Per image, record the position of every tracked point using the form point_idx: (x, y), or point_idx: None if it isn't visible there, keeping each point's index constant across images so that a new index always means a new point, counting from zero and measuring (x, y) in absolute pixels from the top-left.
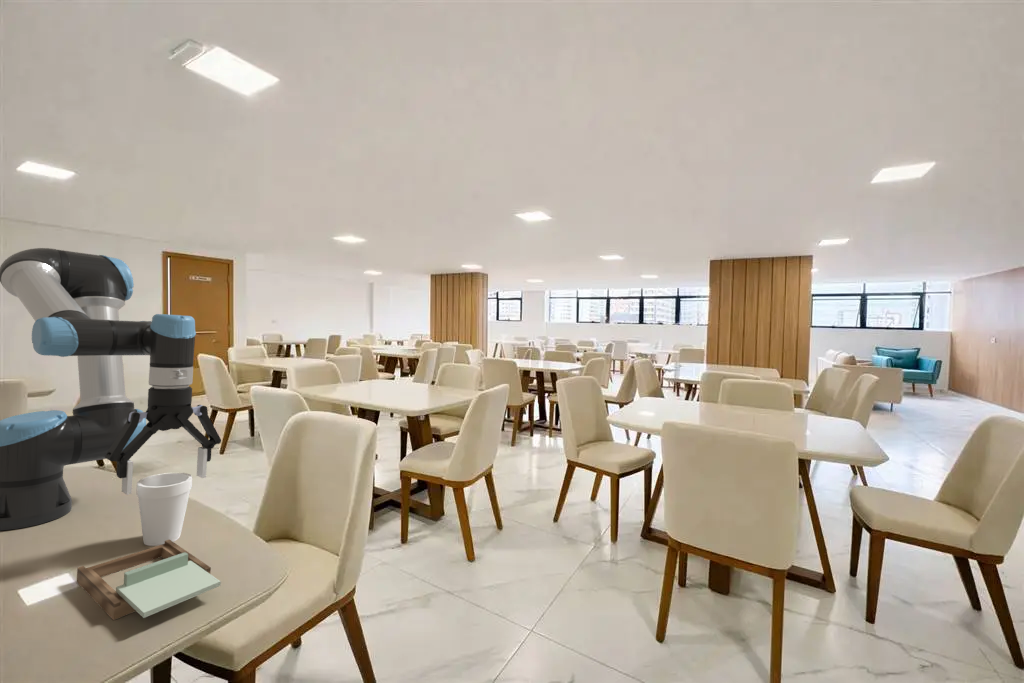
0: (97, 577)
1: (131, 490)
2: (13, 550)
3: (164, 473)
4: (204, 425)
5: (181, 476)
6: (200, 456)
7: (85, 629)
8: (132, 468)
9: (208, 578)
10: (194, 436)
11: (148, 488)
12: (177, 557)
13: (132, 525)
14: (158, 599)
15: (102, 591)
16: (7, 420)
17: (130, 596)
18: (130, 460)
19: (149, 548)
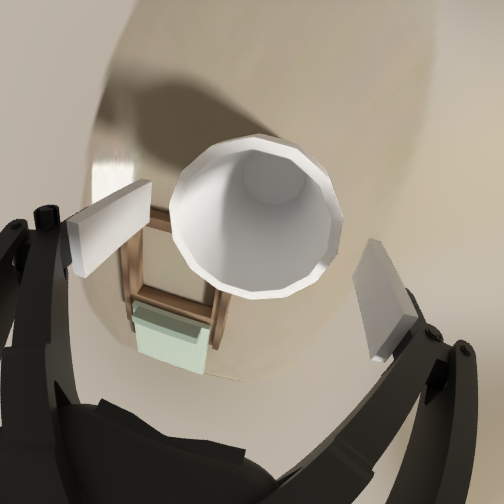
0: (132, 250)
1: (143, 225)
2: (130, 21)
3: (300, 156)
4: (420, 460)
5: (328, 215)
6: (377, 310)
7: (118, 298)
8: (100, 262)
9: (198, 364)
10: (361, 403)
11: (180, 248)
12: (183, 339)
13: (287, 57)
14: (152, 350)
15: (124, 292)
16: None
17: (137, 327)
18: (81, 253)
19: None
